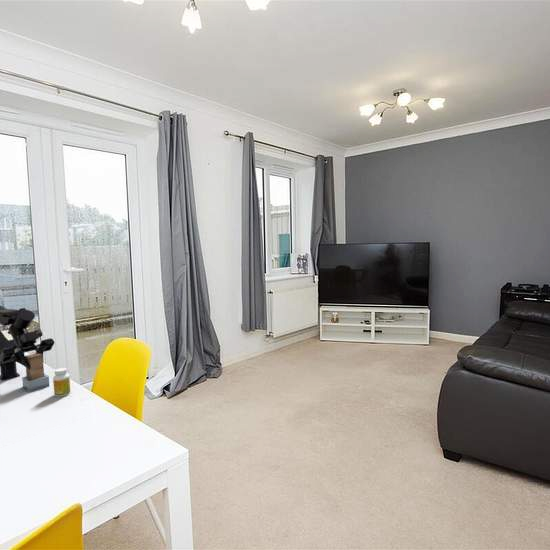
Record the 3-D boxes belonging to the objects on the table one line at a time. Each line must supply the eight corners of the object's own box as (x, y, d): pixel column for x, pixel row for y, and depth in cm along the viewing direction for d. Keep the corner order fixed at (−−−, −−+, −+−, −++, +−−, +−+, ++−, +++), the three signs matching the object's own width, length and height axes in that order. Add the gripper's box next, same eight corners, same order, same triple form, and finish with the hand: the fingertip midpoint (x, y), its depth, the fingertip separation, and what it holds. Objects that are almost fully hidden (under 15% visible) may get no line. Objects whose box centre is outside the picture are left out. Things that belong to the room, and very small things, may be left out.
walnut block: (27, 382, 151) (24, 355, 150) (39, 378, 155) (37, 352, 154) (32, 384, 149) (30, 357, 148) (44, 381, 153) (42, 354, 151)
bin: (22, 386, 152) (22, 377, 151) (43, 381, 157) (42, 372, 157) (28, 391, 147) (28, 381, 147) (49, 385, 152) (48, 376, 152)
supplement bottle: (65, 397, 142) (63, 372, 140) (51, 397, 142) (49, 372, 141) (73, 391, 147) (71, 367, 146) (59, 391, 147) (57, 367, 146)
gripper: (-1, 328, 144) (15, 362, 139) (50, 319, 159) (66, 348, 154) (-8, 345, 149) (7, 378, 144) (42, 335, 164) (57, 364, 160)
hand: (36, 366), depth 150 cm, fingers closed on walnut block, 4 cm apart
